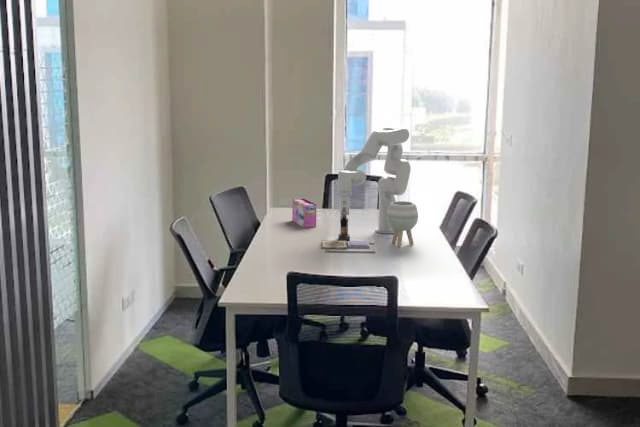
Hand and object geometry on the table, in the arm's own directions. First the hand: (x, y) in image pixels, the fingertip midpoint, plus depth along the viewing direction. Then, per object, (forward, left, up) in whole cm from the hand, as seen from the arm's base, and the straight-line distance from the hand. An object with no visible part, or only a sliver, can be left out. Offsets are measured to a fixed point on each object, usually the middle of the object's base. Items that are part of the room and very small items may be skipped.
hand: (343, 225), depth 379 cm
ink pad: (-8, +15, -8) cm, 18 cm away
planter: (-31, +12, -8) cm, 34 cm away
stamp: (-1, 0, -8) cm, 8 cm away
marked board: (+5, +15, -8) cm, 17 cm away
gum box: (+22, -41, -8) cm, 48 cm away
